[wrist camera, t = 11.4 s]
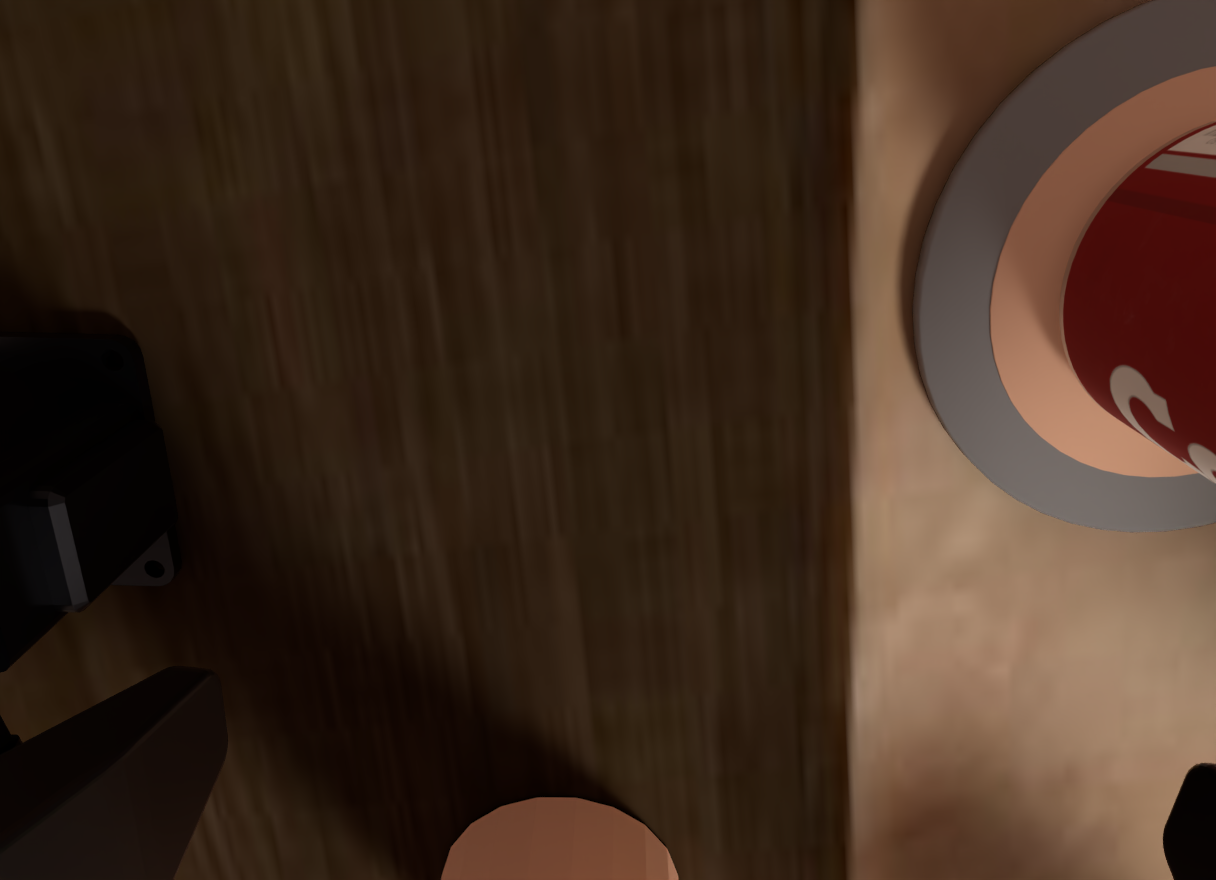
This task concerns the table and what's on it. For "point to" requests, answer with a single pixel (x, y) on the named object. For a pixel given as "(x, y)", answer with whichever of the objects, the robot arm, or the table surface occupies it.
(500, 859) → the pepper shaker
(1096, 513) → the coaster
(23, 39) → the table surface
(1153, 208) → the soda can
